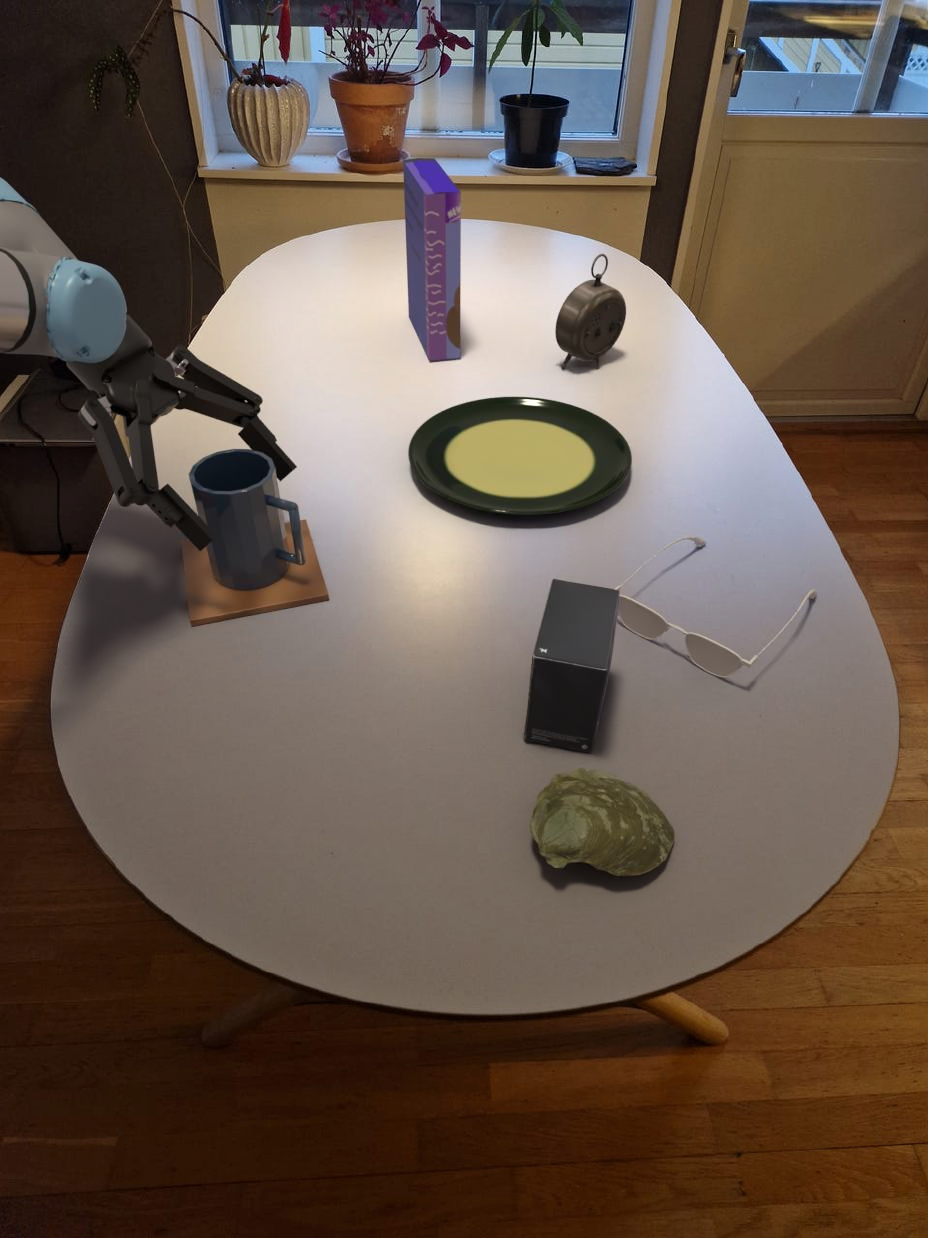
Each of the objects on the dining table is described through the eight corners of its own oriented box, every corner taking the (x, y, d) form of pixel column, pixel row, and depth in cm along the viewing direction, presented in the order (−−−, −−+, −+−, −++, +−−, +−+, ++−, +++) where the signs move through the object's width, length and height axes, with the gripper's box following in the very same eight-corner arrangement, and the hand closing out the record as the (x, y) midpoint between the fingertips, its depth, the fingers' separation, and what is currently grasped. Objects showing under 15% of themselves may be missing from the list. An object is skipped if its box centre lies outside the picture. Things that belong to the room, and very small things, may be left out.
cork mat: (191, 626, 87) (189, 620, 86) (182, 546, 96) (180, 540, 96) (329, 600, 90) (328, 594, 89) (306, 524, 100) (305, 519, 99)
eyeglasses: (604, 618, 88) (609, 588, 85) (695, 539, 98) (701, 510, 95) (741, 692, 80) (751, 661, 78) (824, 598, 90) (835, 568, 88)
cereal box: (460, 359, 132) (460, 190, 116) (429, 362, 131) (426, 192, 115) (436, 314, 145) (434, 156, 128) (408, 316, 144) (402, 158, 128)
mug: (196, 577, 91) (171, 481, 83) (242, 535, 97) (223, 441, 89) (287, 607, 88) (269, 509, 80) (329, 562, 93) (317, 466, 85)
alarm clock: (601, 348, 135) (613, 240, 124) (626, 360, 132) (641, 251, 121) (550, 367, 130) (558, 257, 119) (575, 380, 127) (586, 268, 116)
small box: (595, 756, 74) (610, 671, 67) (521, 742, 76) (528, 657, 69) (609, 671, 82) (623, 587, 75) (541, 660, 83) (549, 575, 76)
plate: (659, 441, 114) (662, 424, 112) (581, 556, 95) (583, 538, 94) (470, 394, 123) (470, 378, 122) (367, 490, 105) (365, 472, 103)
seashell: (698, 819, 68) (645, 806, 60) (659, 904, 68) (601, 902, 60) (595, 763, 74) (535, 745, 66) (559, 841, 74) (495, 831, 66)
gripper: (164, 311, 92) (300, 464, 98) (-23, 413, 75) (153, 592, 81) (194, 268, 87) (335, 433, 92) (0, 368, 70) (187, 562, 75)
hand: (251, 507), depth 87 cm, fingers open, 13 cm apart
